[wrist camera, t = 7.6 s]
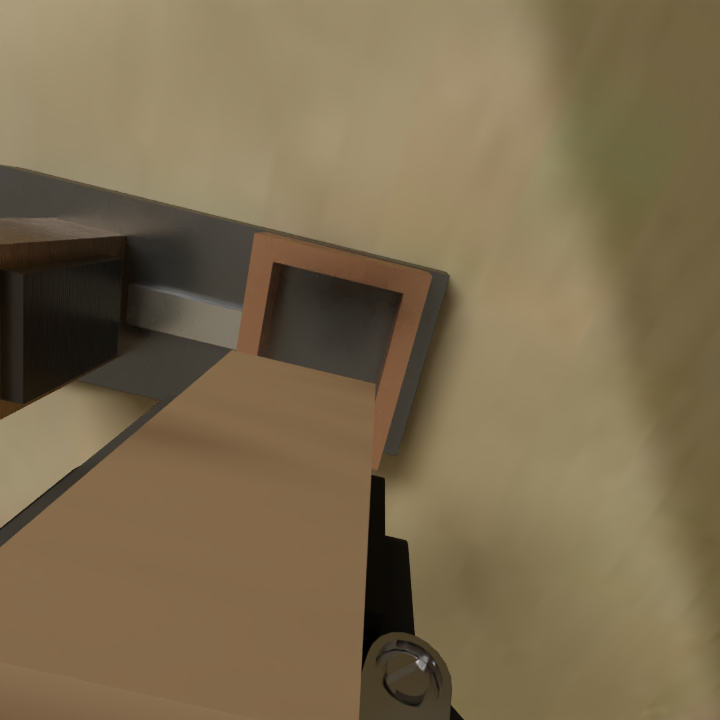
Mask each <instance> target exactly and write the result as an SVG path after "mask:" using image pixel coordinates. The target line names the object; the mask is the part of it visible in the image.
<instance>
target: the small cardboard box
mask: <svg viewBox="0 0 720 720" xmlns="http://www.w3.org/2000/svg"><path fill="white" fill-rule="evenodd" d="M375 388H376V384H373V383H369V382H365V381H361V380H356V379H352V378H348V377H344V376H340V375H336V374H331V373H327V372H323V371H319V370H315V369H310V368H306V367H302V366H298V365H294V364H289V363H285V362H281V361H277V360H273V359H268V358H264V357H260V356H256V355H252V354H247V353H243V352H239V351H235V350H231V351H230V352H229V353H228V354H227V355H226V356H224V357H223V358H222V359H221V360H220V361H219V362H217V363H216V364H215V365H214V366H213V367H211V368H210V369H209V370H208V371H207V372H206V373H204V374H203V375H202V376H201V377H200V378H199V379H197V380H196V381H195V382H194V383H193V384H191V385H190V386H189V387H188V388H187V389H186V390H184V391H183V392H182V393H181V394H180V395H179V396H173V395H167V396H166V397H165V398H164V399H163V400H161V401H160V402H159V403H158V404H156V405H155V406H154V407H153V408H151V409H150V410H149V411H148V412H146V413H145V414H144V415H143V416H141V417H140V418H139V419H138V420H137V421H135V422H134V423H133V424H132V425H130V426H129V427H128V428H127V429H125V430H124V431H123V432H122V433H120V434H119V435H118V436H117V437H115V438H114V439H113V440H112V441H111V442H109V443H108V444H107V445H106V446H104V447H103V448H102V449H101V450H99V451H98V452H97V453H96V454H94V455H93V456H92V457H91V458H89V459H88V460H87V461H86V462H85V463H83V464H82V465H81V466H80V467H78V468H77V469H76V470H75V471H73V472H72V473H71V474H70V475H68V476H67V477H66V478H65V479H63V480H62V481H61V482H60V483H58V484H57V485H56V486H55V487H54V488H52V489H51V490H50V491H49V492H47V493H46V494H45V495H44V496H42V497H41V498H40V499H39V500H37V501H36V502H35V503H34V504H32V505H31V506H30V507H29V508H28V509H26V510H25V511H24V512H23V513H21V514H20V515H19V516H18V517H16V518H15V519H14V520H13V521H11V522H10V523H9V524H8V525H6V526H5V527H4V528H3V529H2V530H0V720H359V707H360V687H361V667H362V647H363V628H364V608H365V588H366V568H367V548H368V528H369V508H370V488H371V468H372V448H373V428H374V408H375Z"/></svg>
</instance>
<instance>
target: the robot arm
mask: <svg viewBox="0 0 720 720" xmlns="http://www.w3.org/2000/svg"><path fill="white" fill-rule="evenodd" d="M78 467H80V466H78ZM78 467H77V468H78ZM77 468H75V469H74V470H72V471H71V472H70V473H68V474H67V475H66V476H65V477H63V478H62V479H61V480H60V481H58V482H57V483H56V484H55V485H53V486H52V487H51V488H50V489H48V490H47V491H46V492H45V493H44V494H42V495H41V496H40V497H39V498H37V499H36V500H35V501H34V502H32V503H31V504H30V505H29V506H27V507H26V508H25V509H24V510H22V511H21V512H20V513H19V514H17V515H16V516H15V517H14V518H12V519H11V520H10V521H9V522H7V523H6V524H5V525H4V526H3V527H1V528H0V530H2V529H3V528H4V527H5V526H6V525H8V524H9V523H10V522H11V521H13V520H14V519H15V518H16V517H18V516H19V515H20V514H21V513H23V512H24V511H25V510H26V509H28V508H29V507H30V506H31V505H32V504H34V503H35V502H36V501H37V500H39V499H40V498H41V497H42V496H44V495H45V494H46V493H47V492H49V491H50V490H51V489H52V488H54V487H55V486H56V485H57V484H58V483H60V482H61V481H62V480H63V479H65V478H66V477H67V476H68V475H70V474H71V473H72V472H73V471H75V470H76V469H77ZM451 695H452V685H451V676H450V673H449V671H448V668H447V665H446V663H445V662H444V660H443V659H442V658H441V656H440V655H439V653H438V652H437V651H436V650H435V649H434V648H433V647H432V646H431V645H429V644H428V643H427V642H425V641H424V640H422V639H420V638H418V637H417V636H415V631H414V618H413V604H412V591H411V577H410V564H409V550H408V542H407V541H406V540H402V539H398V538H394V537H389V536H385V478H383V477H378V476H374V475H371V488H370V508H369V528H368V548H367V568H366V588H365V608H364V628H363V647H362V667H361V687H360V707H359V720H464V719H463V718H462V717H461V716H460V715H459V714H458V712H457V711H456V710H455V709H454V708H453V707H452V706H451Z"/></svg>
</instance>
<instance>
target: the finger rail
mask: <svg viewBox="0 0 720 720" xmlns="http://www.w3.org/2000/svg"><path fill="white" fill-rule="evenodd" d="M449 277H450V275H449V274H448V273H447V272H444V271H440V270H436V269H432V268H428V267H424V266H420V265H416V264H412V263H407V262H403V261H399V260H395V259H391V258H387V257H383V256H379V255H375V254H371V253H367V252H363V251H358V250H354V249H350V248H346V247H342V246H338V245H334V244H330V243H326V242H322V241H318V240H313V239H309V238H305V237H301V236H297V235H293V234H289V233H285V232H281V231H277V230H273V229H269V228H264V227H260V226H256V225H252V224H248V223H244V222H240V221H236V220H232V219H228V218H224V217H220V216H215V215H211V214H207V213H203V212H199V211H195V210H191V209H187V208H183V207H179V206H175V205H170V204H166V203H162V202H158V201H154V200H150V199H146V198H142V197H138V196H134V195H130V194H126V193H121V192H117V191H113V190H109V189H105V188H101V187H97V186H93V185H89V184H85V183H81V182H77V181H72V180H68V179H64V178H60V177H56V176H52V175H48V174H44V173H40V172H36V171H32V170H27V169H23V168H19V167H12V166H5V165H0V420H1V419H3V418H5V417H7V416H8V415H10V414H12V413H14V412H16V411H18V410H20V409H22V408H24V407H26V406H27V405H29V404H31V403H33V402H35V401H37V400H39V399H41V398H43V397H45V396H46V395H48V394H50V393H52V392H54V391H56V390H58V389H60V388H62V387H64V386H65V385H67V384H69V383H71V382H73V381H75V380H77V381H81V382H85V383H90V384H94V385H98V386H102V387H106V388H111V389H115V390H119V391H123V392H128V393H132V394H136V395H140V396H144V397H149V398H153V399H157V400H163V399H164V398H165V397H166V396H167V395H173V396H179V395H180V394H181V393H182V392H183V391H184V390H186V389H187V388H188V387H189V386H190V385H191V384H193V383H194V382H195V381H196V380H197V379H199V378H200V377H201V376H202V375H203V374H204V373H206V372H207V371H208V370H209V369H210V368H211V367H213V366H214V365H215V364H216V363H217V362H219V361H220V360H221V359H222V358H223V357H224V356H226V355H227V354H228V353H229V352H230V351H231V350H235V351H239V352H243V353H247V354H252V355H256V356H260V357H264V358H268V359H273V360H277V361H281V362H285V363H289V364H294V365H298V366H302V367H306V368H310V369H315V370H319V371H323V372H327V373H331V374H336V375H340V376H344V377H348V378H352V379H356V380H361V381H365V382H369V383H373V384H376V388H375V408H374V428H373V448H372V468H371V469H372V470H377V471H378V467H379V464H380V460H381V457H382V453H385V454H389V455H393V456H397V454H398V450H399V447H400V444H401V440H402V437H403V433H404V430H405V427H406V423H407V420H408V416H409V413H410V410H411V406H412V403H413V399H414V396H415V393H416V389H417V386H418V382H419V379H420V376H421V372H422V369H423V365H424V362H425V359H426V355H427V352H428V348H429V345H430V341H431V338H432V335H433V331H434V328H435V324H436V321H437V318H438V314H439V311H440V307H441V304H442V301H443V297H444V294H445V290H446V287H447V284H448V280H449Z"/></svg>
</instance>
